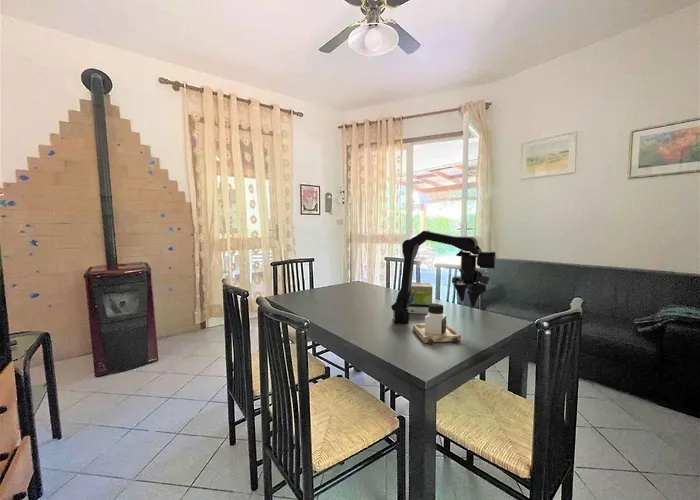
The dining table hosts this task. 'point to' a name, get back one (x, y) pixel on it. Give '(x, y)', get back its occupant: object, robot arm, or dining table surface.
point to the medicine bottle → (435, 320)
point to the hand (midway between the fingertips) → (467, 303)
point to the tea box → (420, 298)
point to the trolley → (429, 338)
